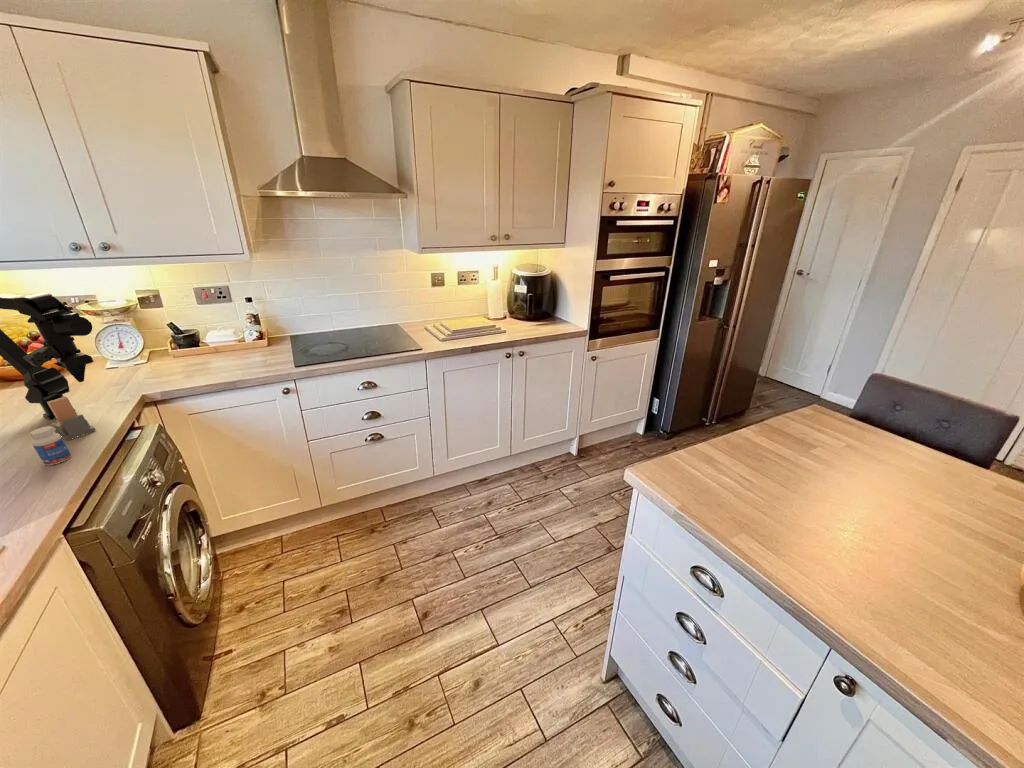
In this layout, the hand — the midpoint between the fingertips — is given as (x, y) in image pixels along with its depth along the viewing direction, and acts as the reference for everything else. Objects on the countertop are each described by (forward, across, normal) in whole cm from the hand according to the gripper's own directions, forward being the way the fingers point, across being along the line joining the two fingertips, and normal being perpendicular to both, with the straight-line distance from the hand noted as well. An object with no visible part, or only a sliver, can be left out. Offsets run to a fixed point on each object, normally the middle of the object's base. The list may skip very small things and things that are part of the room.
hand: (81, 381), depth 131 cm
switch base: (+12, +8, -8) cm, 17 cm away
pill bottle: (+12, +24, -16) cm, 32 cm away
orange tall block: (+11, +8, -8) cm, 16 cm away
